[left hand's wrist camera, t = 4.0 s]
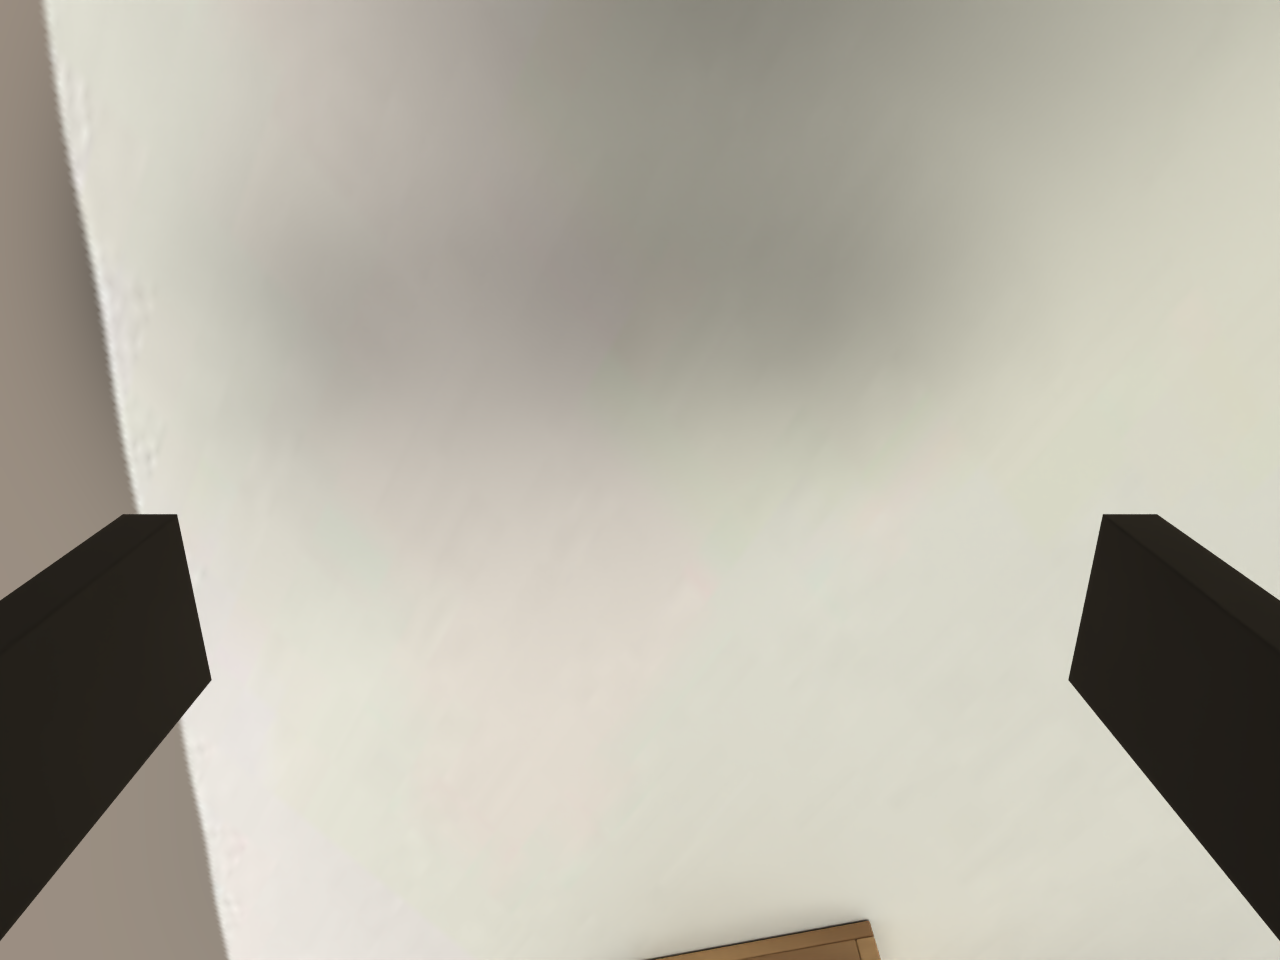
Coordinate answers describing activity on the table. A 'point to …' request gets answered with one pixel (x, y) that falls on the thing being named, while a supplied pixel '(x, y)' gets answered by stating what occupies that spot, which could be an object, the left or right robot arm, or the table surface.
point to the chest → (800, 946)
